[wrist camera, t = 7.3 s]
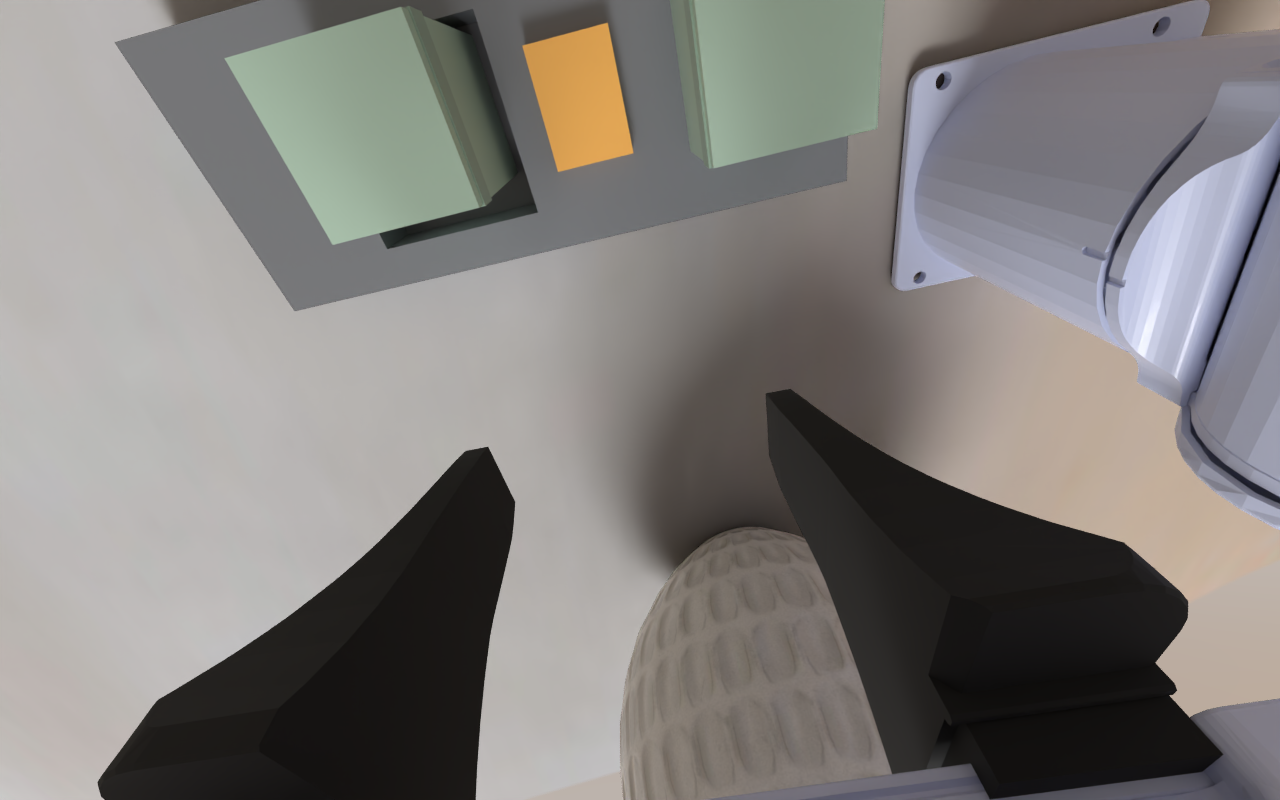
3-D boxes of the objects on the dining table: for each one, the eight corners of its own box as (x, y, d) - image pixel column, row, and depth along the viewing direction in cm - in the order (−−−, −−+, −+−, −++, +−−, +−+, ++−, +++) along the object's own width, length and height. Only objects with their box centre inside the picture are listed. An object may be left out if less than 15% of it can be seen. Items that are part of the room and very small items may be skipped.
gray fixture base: (818, -132, 13) (960, -284, 8) (818, 170, 18) (910, 205, 12) (184, 49, 15) (-61, 25, 9) (328, 287, 19) (218, 364, 14)
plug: (473, 33, 15) (401, 2, 10) (520, 173, 17) (481, 209, 12) (350, 67, 15) (220, 56, 10) (413, 201, 17) (331, 247, 12)
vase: (614, 635, 34) (620, 1277, 16) (620, 467, 25) (651, 1484, 7) (828, 630, 35) (1069, 1221, 17) (906, 468, 27) (1590, 1337, 8)
